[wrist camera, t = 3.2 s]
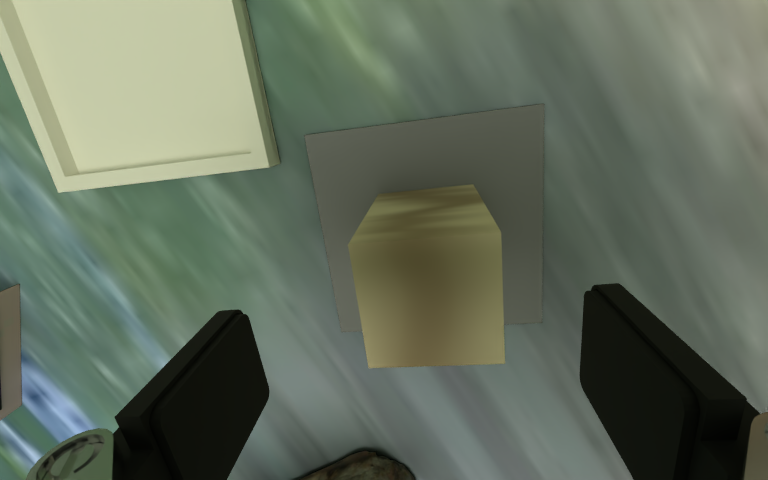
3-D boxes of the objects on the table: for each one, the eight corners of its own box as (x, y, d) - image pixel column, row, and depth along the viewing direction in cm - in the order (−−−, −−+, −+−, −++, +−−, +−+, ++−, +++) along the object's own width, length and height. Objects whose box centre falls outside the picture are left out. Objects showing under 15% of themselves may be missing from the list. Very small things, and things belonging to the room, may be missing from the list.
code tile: (543, 103, 18) (544, 103, 18) (541, 320, 22) (542, 323, 21) (305, 135, 20) (303, 135, 19) (342, 330, 23) (341, 332, 23)
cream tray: (218, -125, 16) (198, -147, 15) (280, 163, 20) (269, 167, 19) (-17, -66, 18) (-55, -81, 17) (82, 187, 22) (58, 192, 21)
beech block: (472, 184, 19) (501, 232, 12) (477, 272, 21) (504, 363, 13) (378, 194, 20) (348, 244, 12) (389, 278, 22) (368, 368, 14)
